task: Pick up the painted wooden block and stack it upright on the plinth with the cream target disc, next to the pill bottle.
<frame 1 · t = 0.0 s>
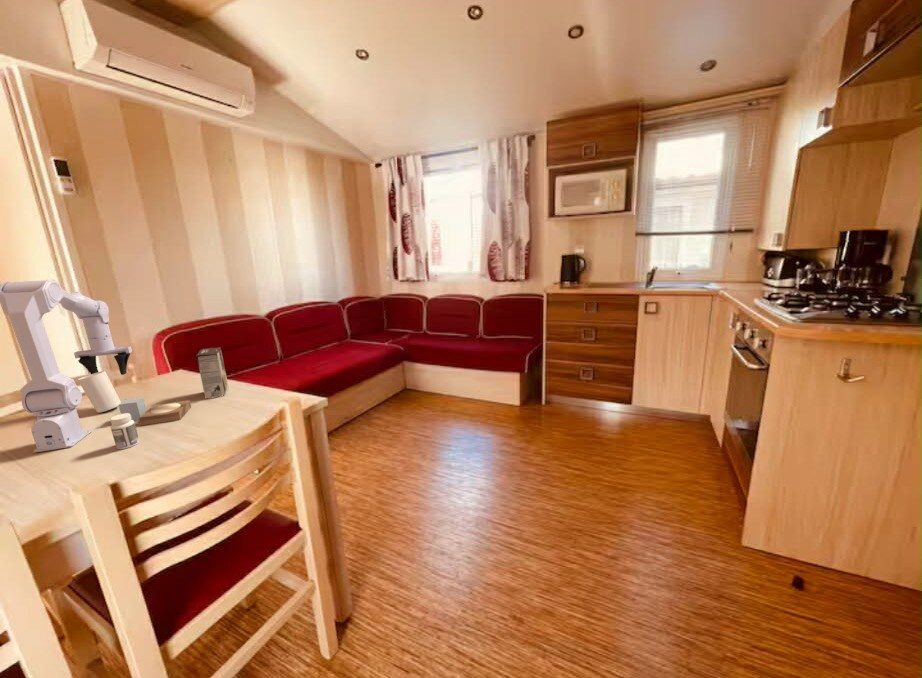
hand: (110, 375, 126), 10 cm above the table, fingers open, 7 cm apart
coffee box: (217, 393, 135), on the table
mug: (109, 408, 124), on the table, touching gripper
plinth: (167, 415, 117), on the table
block: (135, 418, 116), on the table
pill bottle: (128, 445, 100), on the table
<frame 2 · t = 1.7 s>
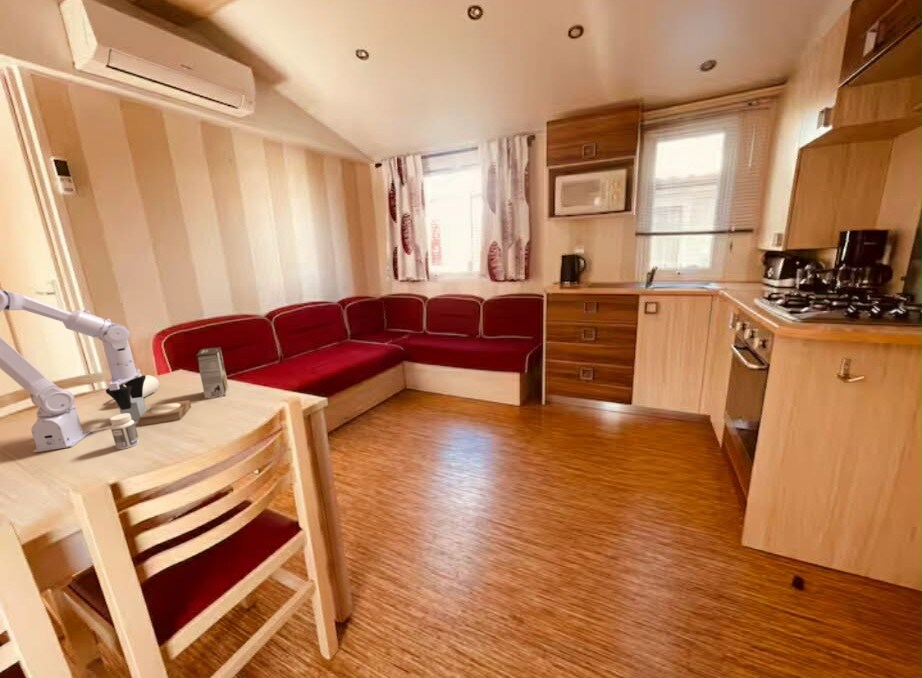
hand: (132, 404, 115), 5 cm above the table, fingers open, 7 cm apart
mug: (118, 397, 125), point 3 cm above the table
everything else where it was.
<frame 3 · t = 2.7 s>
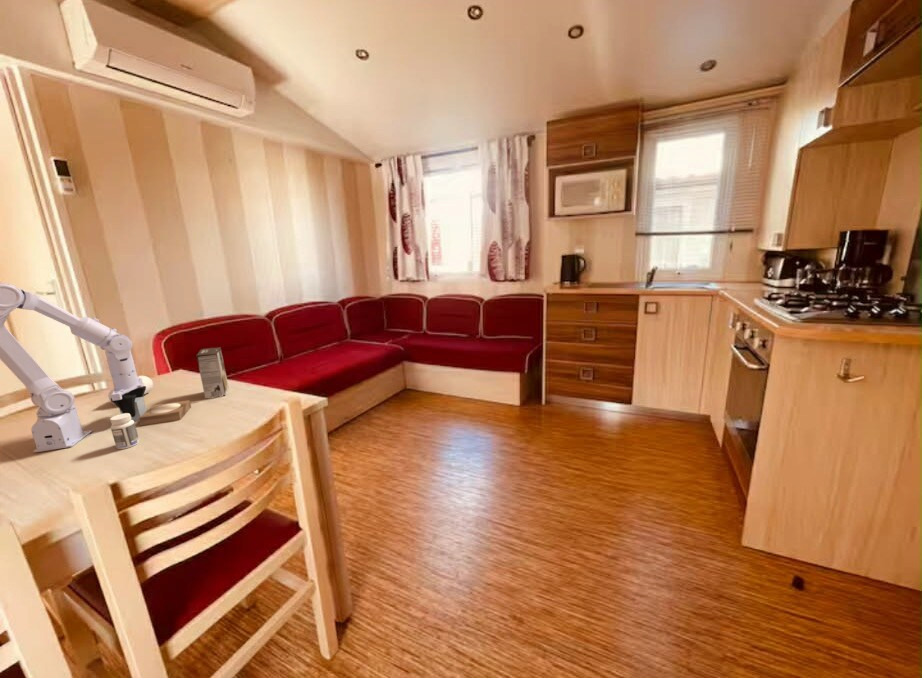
hand: (134, 413, 116), 2 cm above the table, fingers closed on block, 4 cm apart
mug: (113, 400, 126), point 2 cm above the table
block: (135, 418, 116), on the table, touching gripper
everything else where it was.
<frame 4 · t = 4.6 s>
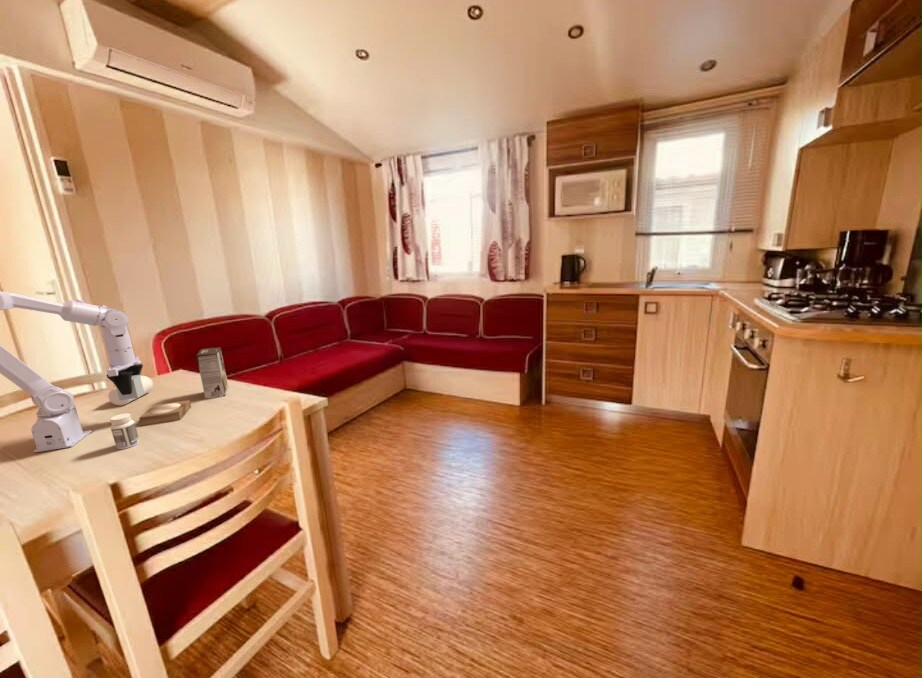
hand: (130, 391, 114), 9 cm above the table, fingers closed on block, 4 cm apart
block: (132, 396, 115), point 7 cm above the table, touching gripper
everything else where it was.
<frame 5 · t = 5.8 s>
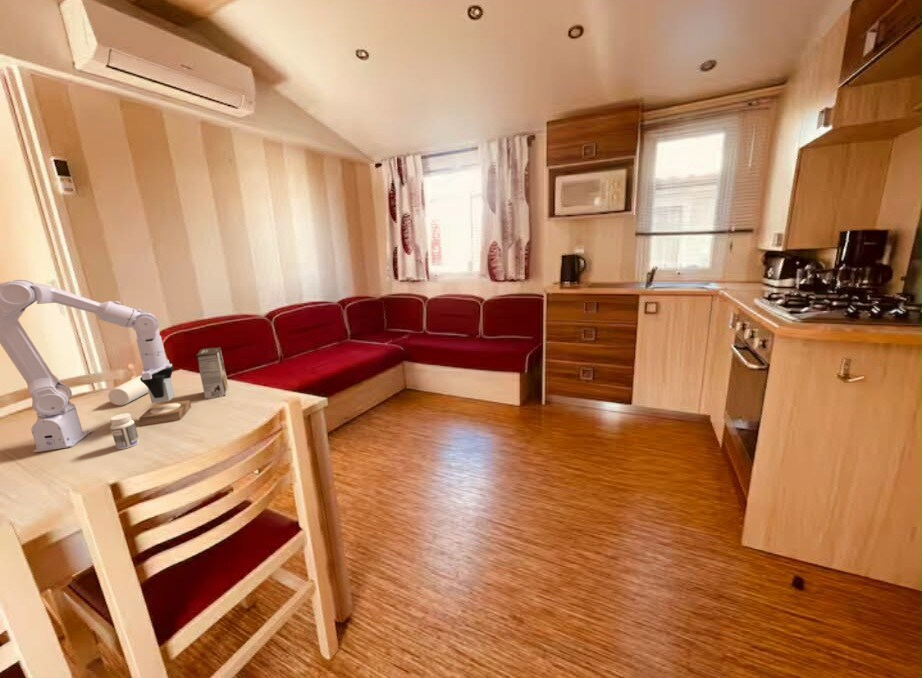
hand: (162, 394, 116), 7 cm above the table, fingers closed on block, 4 cm apart
block: (163, 399, 116), point 6 cm above the table, touching gripper
everything else where it was.
when the fingers open (5 cm above the table, at t = 6.7 s): block stays where it is, resting on plinth.
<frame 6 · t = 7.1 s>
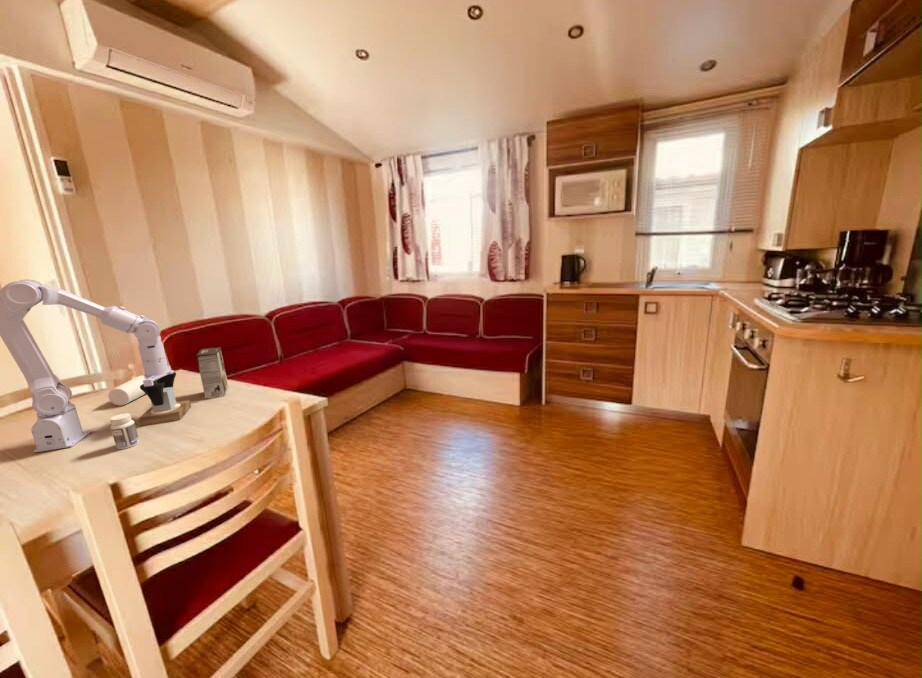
hand: (163, 400, 116), 5 cm above the table, fingers open, 7 cm apart
block: (165, 408, 117), point 3 cm above the table, touching plinth
everything else where it was.
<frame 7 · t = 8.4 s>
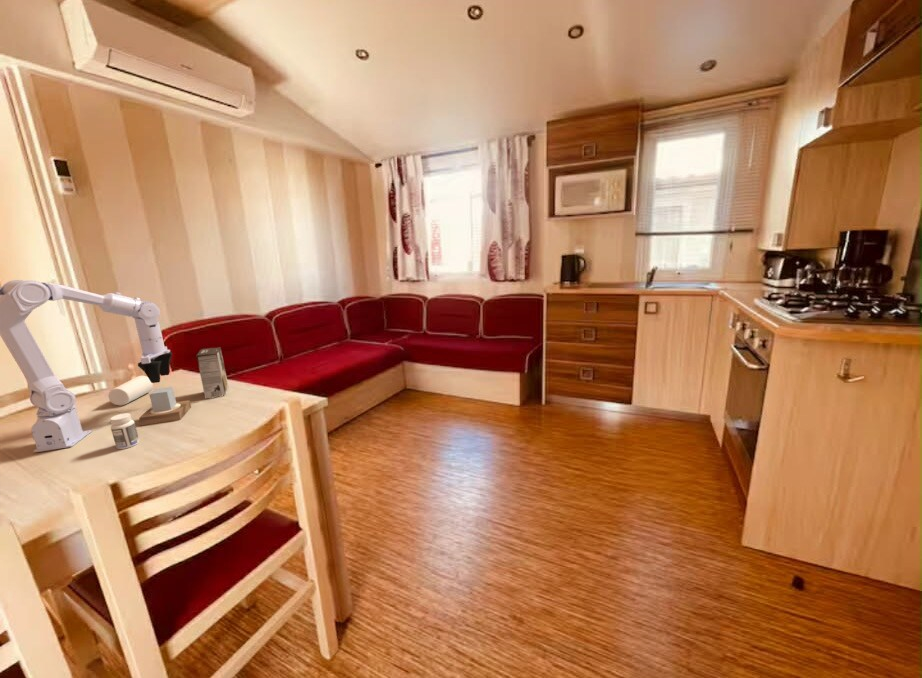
hand: (160, 378, 122), 10 cm above the table, fingers open, 7 cm apart
nothing on the table moved.
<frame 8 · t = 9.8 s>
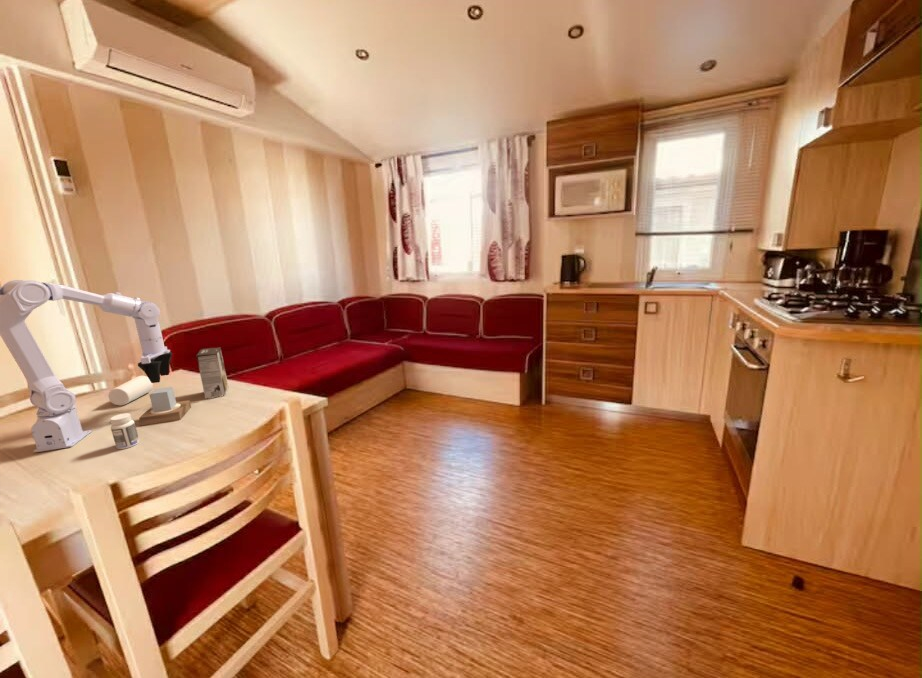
hand: (160, 378, 122), 10 cm above the table, fingers open, 7 cm apart
nothing on the table moved.
at the end: block 0.0 cm off-centre on the plinth, point 2.6 cm above the plinth's base; block tilted 0°; the gripper is holding nothing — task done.
